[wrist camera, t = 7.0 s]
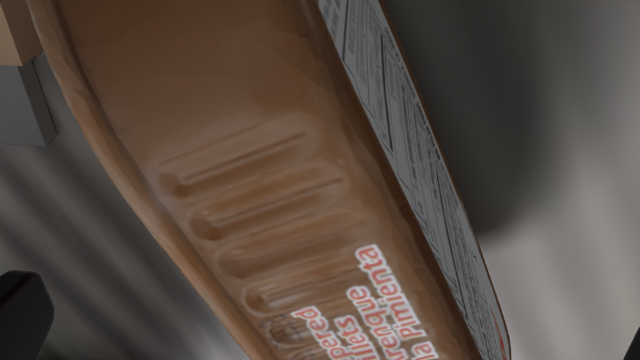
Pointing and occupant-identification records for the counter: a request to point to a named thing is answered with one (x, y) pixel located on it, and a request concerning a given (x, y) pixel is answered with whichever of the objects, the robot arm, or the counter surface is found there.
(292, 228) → the tin
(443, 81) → the counter surface
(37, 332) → the robot arm
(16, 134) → the grey plank
